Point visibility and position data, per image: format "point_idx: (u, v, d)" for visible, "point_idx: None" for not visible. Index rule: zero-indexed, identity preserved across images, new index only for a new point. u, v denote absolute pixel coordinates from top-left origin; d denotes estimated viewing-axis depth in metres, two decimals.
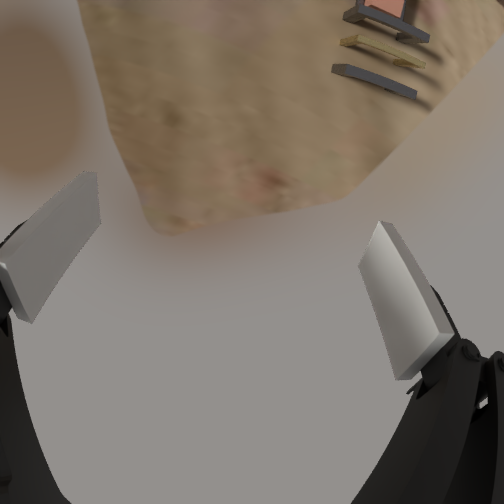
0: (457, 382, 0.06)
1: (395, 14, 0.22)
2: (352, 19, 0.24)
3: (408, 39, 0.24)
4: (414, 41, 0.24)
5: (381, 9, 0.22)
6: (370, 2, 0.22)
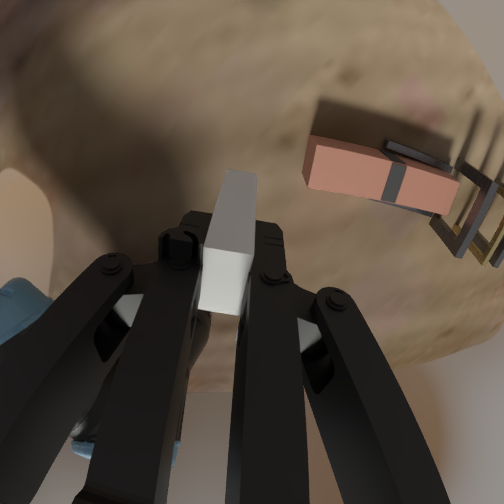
0: (263, 319, 0.07)
1: (456, 188, 0.24)
2: None
3: None
4: None
5: None
6: None
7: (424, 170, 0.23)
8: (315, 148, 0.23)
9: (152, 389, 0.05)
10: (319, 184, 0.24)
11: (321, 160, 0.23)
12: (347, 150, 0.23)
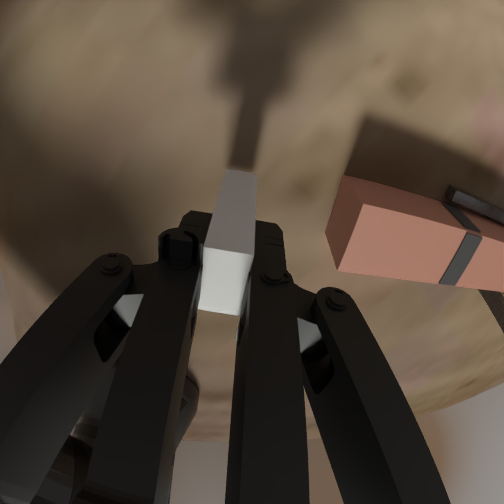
0: (263, 319, 0.07)
1: None
2: None
3: None
4: None
5: None
6: None
7: (498, 239, 0.14)
8: (359, 208, 0.13)
9: (151, 388, 0.05)
10: (357, 265, 0.15)
11: (366, 230, 0.13)
12: (409, 213, 0.13)
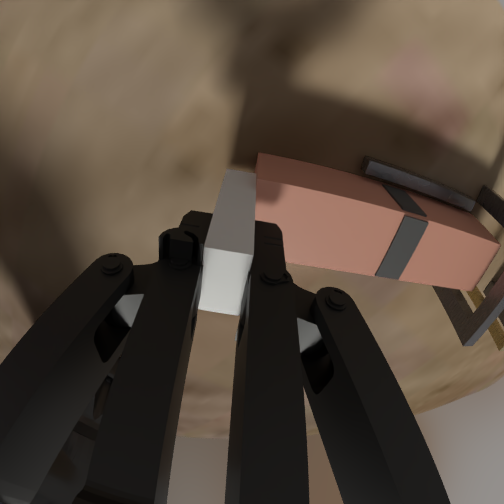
0: (263, 319, 0.07)
1: (494, 253, 0.14)
2: None
3: None
4: None
5: None
6: None
7: (454, 227, 0.13)
8: (256, 185, 0.12)
9: (152, 389, 0.05)
10: None
11: (267, 209, 0.13)
12: (321, 190, 0.12)
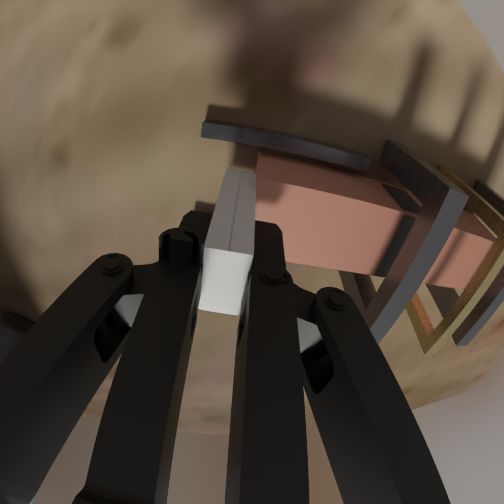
0: (263, 319, 0.07)
1: None
2: None
3: None
4: None
5: None
6: None
7: None
8: (256, 184, 0.12)
9: (151, 389, 0.05)
10: None
11: (267, 208, 0.13)
12: (321, 189, 0.12)
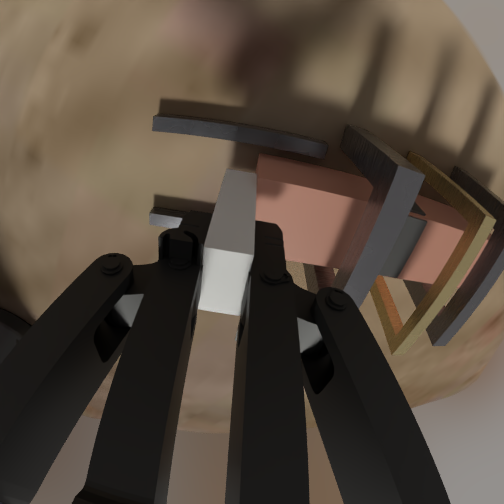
0: (263, 319, 0.07)
1: None
2: None
3: None
4: None
5: None
6: None
7: (453, 226, 0.13)
8: (257, 184, 0.12)
9: (152, 389, 0.05)
10: None
11: (267, 208, 0.13)
12: (320, 189, 0.12)
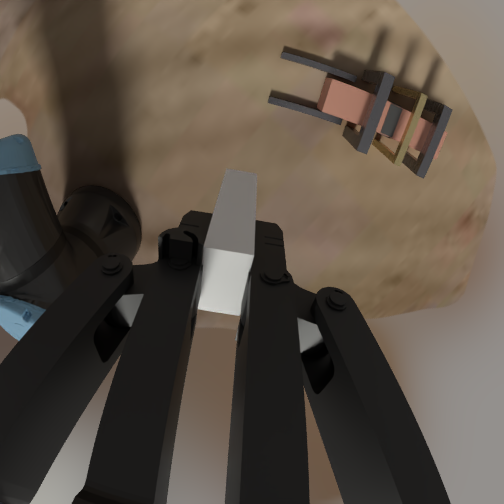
0: (263, 319, 0.07)
1: (444, 136, 0.27)
2: None
3: None
4: None
5: None
6: None
7: None
8: (331, 82, 0.26)
9: (151, 388, 0.05)
10: (331, 110, 0.28)
11: (334, 91, 0.26)
12: (355, 87, 0.26)
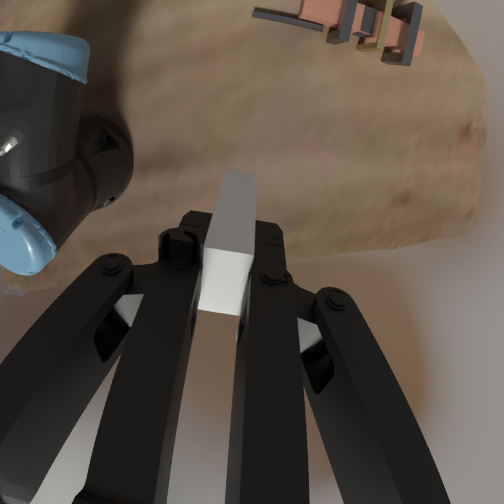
0: (263, 319, 0.07)
1: (423, 36, 0.24)
2: None
3: None
4: None
5: (421, 48, 0.25)
6: (415, 55, 0.26)
7: (392, 17, 0.23)
8: None
9: (151, 389, 0.05)
10: (310, 12, 0.24)
11: None
12: None
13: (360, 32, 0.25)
